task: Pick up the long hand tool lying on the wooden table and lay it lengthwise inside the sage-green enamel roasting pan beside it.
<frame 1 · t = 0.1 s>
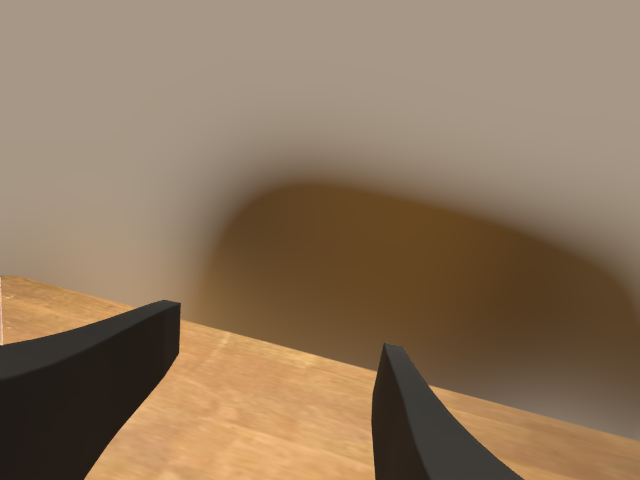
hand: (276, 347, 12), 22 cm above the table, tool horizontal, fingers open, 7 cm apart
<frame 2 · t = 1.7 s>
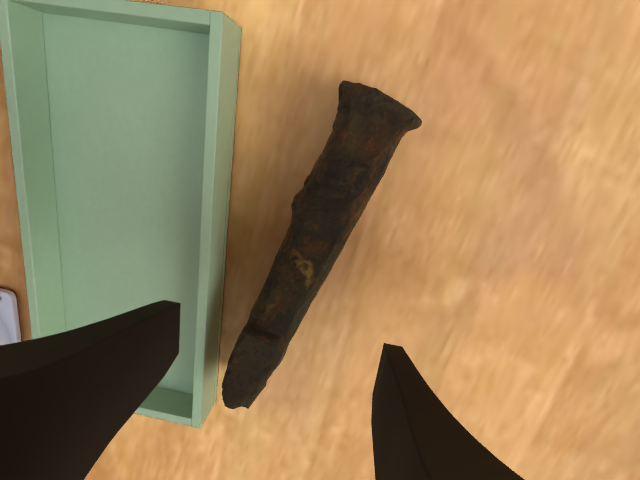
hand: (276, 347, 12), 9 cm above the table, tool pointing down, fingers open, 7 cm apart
hand tool: (315, 258, 21), on the table
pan: (139, 227, 22), on the table
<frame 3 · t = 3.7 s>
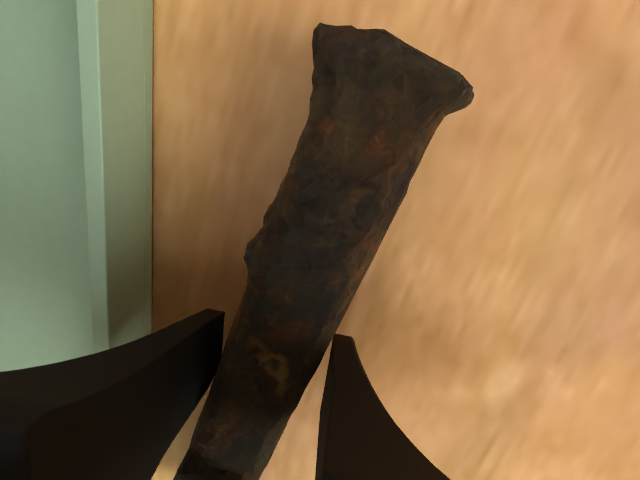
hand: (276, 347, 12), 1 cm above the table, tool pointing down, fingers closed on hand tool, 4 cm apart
hand tool: (298, 323, 14), on the table, touching gripper
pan: (22, 274, 15), on the table
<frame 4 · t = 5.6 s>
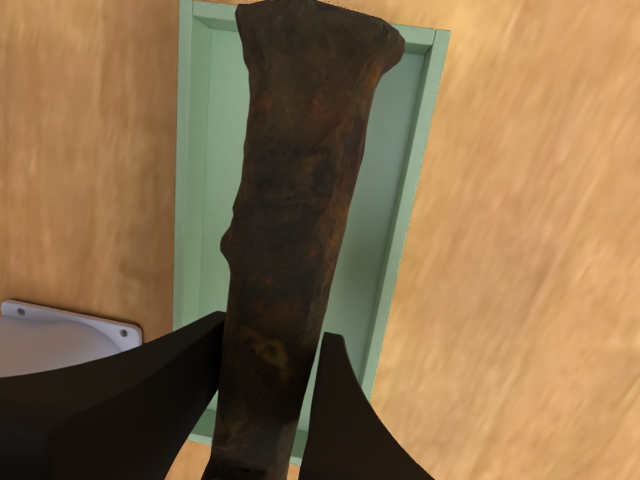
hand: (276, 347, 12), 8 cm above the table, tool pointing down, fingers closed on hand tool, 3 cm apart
hand tool: (300, 314, 14), point 7 cm above the table, touching gripper
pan: (290, 260, 20), on the table
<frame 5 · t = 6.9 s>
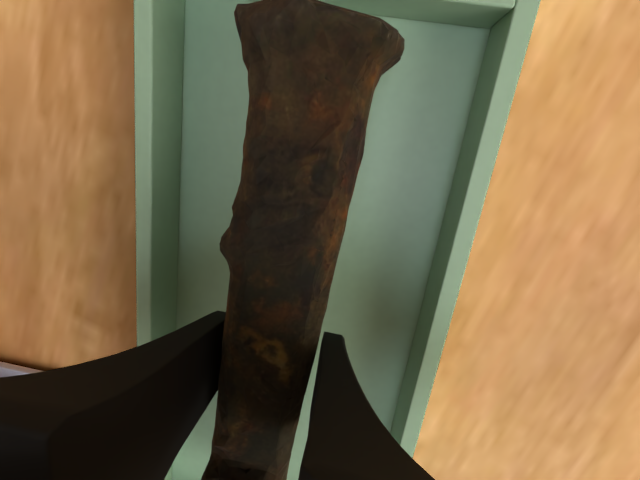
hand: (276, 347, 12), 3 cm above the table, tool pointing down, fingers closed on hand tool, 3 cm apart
hand tool: (300, 314, 14), point 2 cm above the table, touching gripper
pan: (294, 306, 15), on the table
when the fingers open (2 cm above the table, at t = 7.6 s): hand tool stays where it is, resting on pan.
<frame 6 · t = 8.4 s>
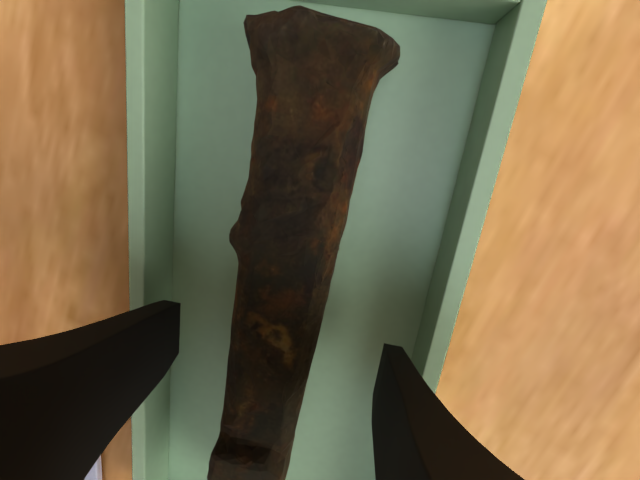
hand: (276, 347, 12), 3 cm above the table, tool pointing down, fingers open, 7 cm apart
hand tool: (304, 304, 15), resting on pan
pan: (293, 310, 15), on the table
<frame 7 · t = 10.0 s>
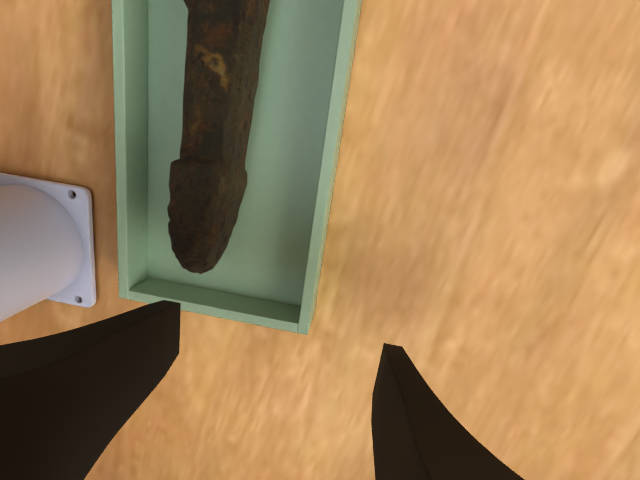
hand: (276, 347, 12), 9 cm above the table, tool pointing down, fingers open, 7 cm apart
hand tool: (248, 93, 19), resting on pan
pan: (241, 103, 19), on the table
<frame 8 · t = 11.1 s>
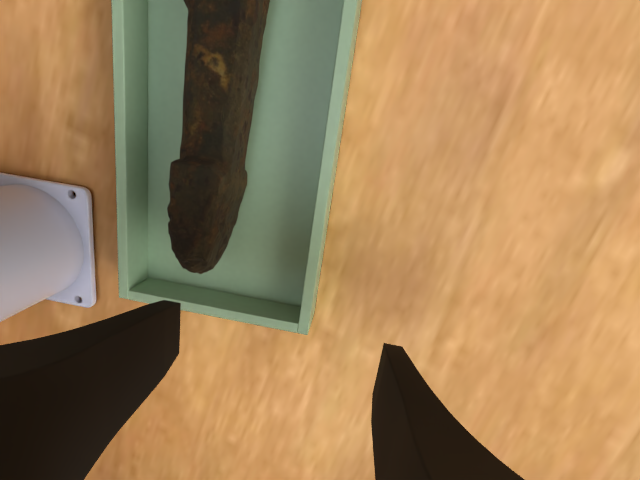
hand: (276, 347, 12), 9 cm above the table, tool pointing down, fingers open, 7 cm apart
hand tool: (248, 93, 19), resting on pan
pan: (241, 103, 19), on the table
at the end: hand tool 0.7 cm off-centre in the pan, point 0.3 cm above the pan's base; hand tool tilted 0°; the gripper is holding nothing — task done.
